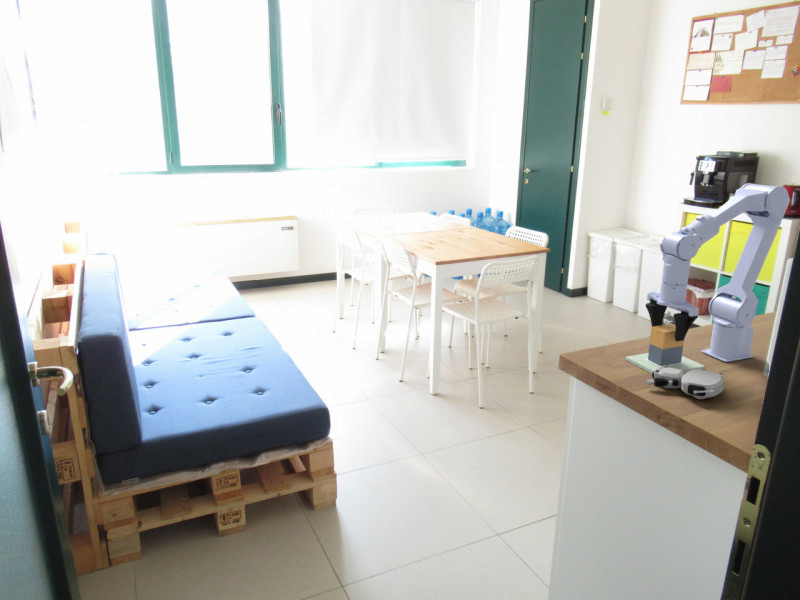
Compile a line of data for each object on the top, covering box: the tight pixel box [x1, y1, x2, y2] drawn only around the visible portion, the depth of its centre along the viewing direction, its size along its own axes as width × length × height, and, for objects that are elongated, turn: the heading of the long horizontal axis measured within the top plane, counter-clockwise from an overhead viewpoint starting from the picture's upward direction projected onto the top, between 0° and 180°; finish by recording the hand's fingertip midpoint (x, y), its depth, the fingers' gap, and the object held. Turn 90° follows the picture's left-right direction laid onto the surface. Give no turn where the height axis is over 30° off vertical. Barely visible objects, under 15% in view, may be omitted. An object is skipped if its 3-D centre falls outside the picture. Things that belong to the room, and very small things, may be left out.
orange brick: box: [649, 323, 685, 349], centre depth 148 cm, size 6×4×4 cm
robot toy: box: [646, 366, 727, 400], centre depth 135 cm, size 12×4×15 cm
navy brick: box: [648, 343, 684, 366], centre depth 149 cm, size 6×4×4 cm
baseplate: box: [624, 352, 706, 374], centre depth 150 cm, size 14×12×1 cm
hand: (667, 335), depth 148 cm, fingers open, 7 cm apart
